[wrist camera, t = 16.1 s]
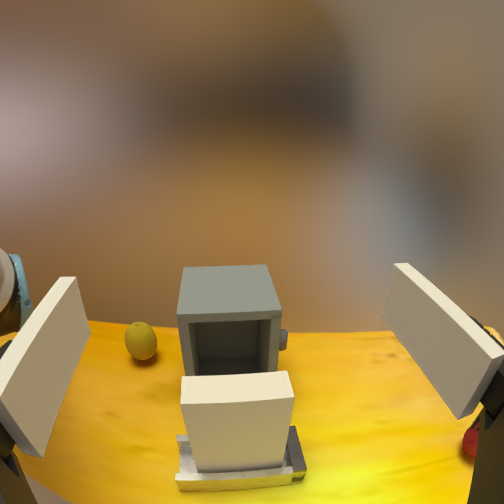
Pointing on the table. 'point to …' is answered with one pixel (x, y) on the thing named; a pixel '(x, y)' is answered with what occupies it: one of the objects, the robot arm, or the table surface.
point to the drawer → (195, 481)
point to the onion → (471, 440)
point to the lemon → (141, 340)
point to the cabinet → (229, 321)
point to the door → (237, 420)
